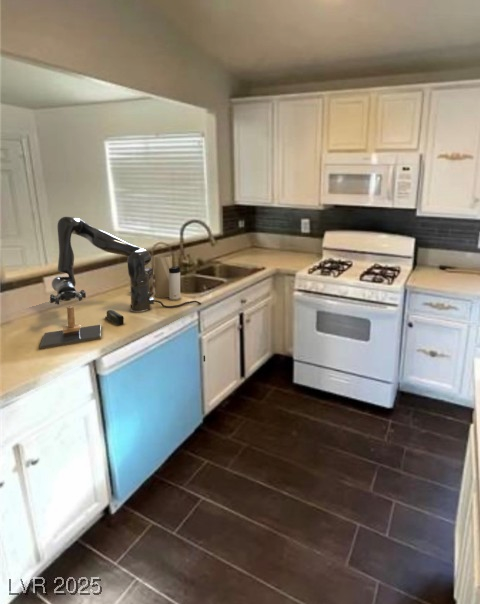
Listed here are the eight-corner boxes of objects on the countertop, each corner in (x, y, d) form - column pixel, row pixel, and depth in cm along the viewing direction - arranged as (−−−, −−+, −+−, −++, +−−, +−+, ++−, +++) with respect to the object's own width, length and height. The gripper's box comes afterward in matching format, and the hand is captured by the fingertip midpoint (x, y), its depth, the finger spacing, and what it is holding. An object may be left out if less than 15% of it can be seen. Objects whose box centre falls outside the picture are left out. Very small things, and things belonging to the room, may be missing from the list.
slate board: (100, 327, 172) (100, 324, 171) (100, 339, 160) (100, 335, 159) (44, 336, 161) (44, 332, 161) (40, 349, 149) (39, 345, 149)
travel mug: (177, 301, 210) (176, 268, 208) (167, 300, 212) (166, 267, 209) (183, 297, 216) (182, 265, 214) (173, 296, 218) (172, 265, 215)
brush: (80, 331, 164) (79, 304, 162) (80, 334, 160) (78, 307, 158) (63, 333, 160) (62, 306, 159) (63, 337, 157) (61, 309, 155)
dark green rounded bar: (124, 315, 175) (109, 307, 184) (118, 317, 173) (103, 309, 181) (125, 324, 176) (109, 316, 184) (118, 326, 173) (103, 318, 182)
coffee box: (148, 297, 215) (147, 271, 213) (137, 297, 215) (136, 271, 213) (153, 292, 224) (152, 267, 222) (143, 292, 224) (142, 267, 222)
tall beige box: (151, 296, 217) (150, 256, 213) (162, 291, 226) (161, 253, 223) (166, 298, 214) (165, 258, 211) (175, 293, 224) (175, 254, 221)
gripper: (48, 286, 173) (50, 295, 161) (82, 281, 182) (86, 290, 169) (49, 301, 174) (51, 311, 162) (83, 296, 183) (87, 305, 170)
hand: (69, 300), depth 166 cm, fingers open, 8 cm apart
